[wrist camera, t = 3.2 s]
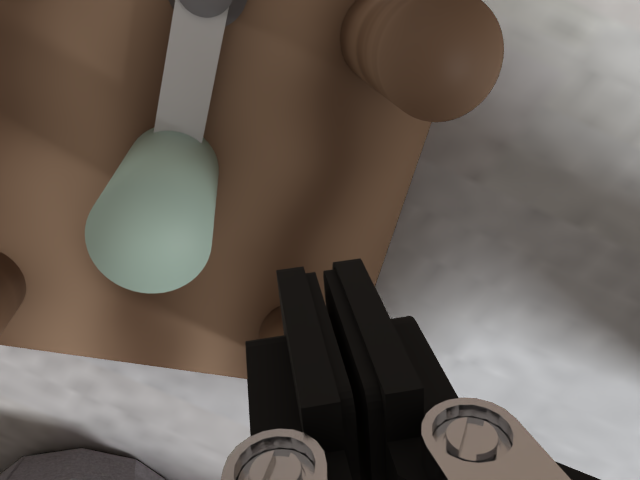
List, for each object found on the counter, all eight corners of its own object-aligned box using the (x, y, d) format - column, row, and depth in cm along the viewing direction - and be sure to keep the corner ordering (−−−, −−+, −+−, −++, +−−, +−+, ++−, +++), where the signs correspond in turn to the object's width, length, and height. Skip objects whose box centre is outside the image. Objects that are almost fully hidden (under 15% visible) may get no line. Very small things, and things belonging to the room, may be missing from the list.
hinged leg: (160, -60, 20) (124, -80, 13) (262, -30, 21) (273, -34, 14) (121, 200, 23) (78, 282, 17) (209, 218, 24) (199, 302, 18)
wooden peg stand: (458, -21, 24) (578, -23, 16) (331, 362, 32) (366, 503, 23) (-61, -189, 20) (-286, -319, 11) (-70, 302, 27) (-211, 449, 19)
